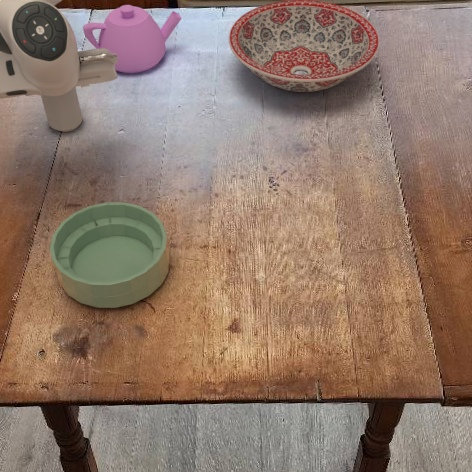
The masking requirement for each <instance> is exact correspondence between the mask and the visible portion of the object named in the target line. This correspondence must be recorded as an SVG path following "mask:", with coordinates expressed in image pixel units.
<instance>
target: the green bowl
mask: <svg viewBox="0 0 472 472" xmlns="http://www.w3.org/2000/svg"><path fill="white" fill-rule="evenodd" d="M49 251H50V256H51V262H52V264H53V267H54V270H55V274H56V277H57V280H58V283H59V285H60V286H61V288H62V289H63V290H64V292H65V293H66V294H67V296H69V297H70V298H72V299H74V300H75V301H77V302H78V303H80V304H83V305H86V306H90V307H93V308H97V309H116V308H121V307H125V306H130V305H134V304H136V303H137V302H139V301H141V300H143V299H146V298H148V297H149V296H151V295H152V294H153V293H154V292H155V291H156V290H157V289H159V287H161V286H162V285H163V283H164V282H165V280H166V277H167V275H168V274H169V270H170V261H171V258H170V251H169V241H168V234H167V232H166V228H165V225H164V223H163V222H162V221H161V220H160V219H159V217H158V216H157V215H156V214H155V213H154V212H152V211H151V210H148V209H146V208H145V207H143V206H141V205H138V204H133V203H129V202H126V201H125V202H124V201H121V202H120V201H108V202H101V203H97V204H92V205H88V206H86V207H83V208H81V209H80V210H76V211H75V212H73V213H72V214H71V215H69V216H68V217H67V218H65V219H64V220H63V221H62V222H61V223H60V224H59V225H58V227H57V228H56V229H55V231H54V232H53V234H52V236H51V241H50V245H49Z"/></svg>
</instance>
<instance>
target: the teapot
mask: <svg viewBox="0 0 472 472" xmlns="http://www.w3.org/2000/svg"><path fill="white" fill-rule="evenodd" d="M181 20H182V16H181V15H180V14H179V13H177V12H176V11H174V10H173V11H171V13H170V14H169V16H168V18H166V21H165V22H164V24H163V25H162V27H161V28H160V26H159V25H158V23H157V22H156V20H155V19H154V18H153V16H152V15H151V14H150V13H149V12H148V11H147V10H145V9H144V8H142V7H140V6H133V5H131V4H124V5H121V6H120V7H117V8H115V9H113V10H111V11H110V12H109V13H108V14H107V16H106V17H105V20H104V22H87V23H84V24H83V27H82V31H83V34H84V36H85V38H86V39H87V40H88V42H89V43H90V44H91V45H92V46H93V47H94V49H101V48H102V49H108V50H109V51H110V52H111V54H116V55H117V56H118V62H117V63H116V64H115V68H116V72H119V73H124V74H136V73H143V72H146V71H148V70H151V69H153V68H154V67H156V66H157V65H158V64H159V62H161V60H162V59H163V57H164V56H165V53H166V50H167V47H166V42H167V40H168V39H169V38H170V36H171V35H172V33H173V32H174V30H175V29H176V27H177V26H178V25H179V23H180V22H181ZM94 30H100V32H99V35H98V40H96V38H95V35H94V34H93V31H94Z"/></svg>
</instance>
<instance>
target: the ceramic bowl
mask: <svg viewBox="0 0 472 472" xmlns="http://www.w3.org/2000/svg"><path fill="white" fill-rule="evenodd" d="M228 45H229V48H230V50H231V52H232V54H233V56H234V57H235V58H236V59H237V60H238V61H239V62H240V63H241V64H242V65H244V66H246V67H247V68H248V69H249V70H250V71H251V72H252V74H254V75H255V76H256V77H258V78H259V79H260V80H261V81H263V82H265V83H267V84H268V85H270V86H273V87H275V88H278V89H281V90H284V91H288V92H294V93H295V92H297V93H311V92H319V91H325V90H327V89H330V88H333V87H335V86H338V85H339V84H342V83H343V82H345V81H347V80H348V79H349V78H350V77H352V76H353V75H355V74H356V73H357V72H359V71H361V70H363V69H365V68H366V67H367V66H368V65H369V64H371V62H373V60H374V59H375V58H376V56H377V54H378V52H379V49H380V37H379V34H378V32H377V30H376V28H375V27H374V25H373V24H372V23H371V22H370V21H369V20H368V19H367V18H365V17H364V16H363V15H361V14H360V13H357V12H356V11H354V10H352V9H350V8H347V7H345V6H342V5H339V4H335V3H331V2H327V1H319V0H280V1H275V2H274V1H273V2H270V3H266V4H264V5H260V6H257V7H255V8H252V9H250V10H248V11H247V12H245V13H244V14H243V15H241V16H240V17H239V18H237V19H236V21H235V22H234V23H233V25H232V26H231V28H230V30H229V34H228ZM298 71H304V72H307V74H299V73H297V74H296V73H295V72H298Z"/></svg>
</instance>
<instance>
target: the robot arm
mask: <svg viewBox="0 0 472 472" xmlns="http://www.w3.org/2000/svg"><path fill="white" fill-rule="evenodd" d="M62 1H63V0H0V100H3V99H9V98H14V97H21V96H25V97H31V96H41V95H46V96H60V95H63V94H65V93H67V92H69V91H70V90H71V89H72V88H73V87H80V88H84V87H85V88H86V87H90V85H96V84H101V83H107V82H112V81H115V80H116V79H117V78H118V73H117V71H116V68H115V64H116V63H117V62H118V56H117V55H116V54H111V52H110V51H109V50H108V49H102V48H101V49H96V48H93V49H86V50H81V51H79V48H78V43H77V38H76V35H75V32H74V29H73V28H72V26H71V24H70V22H69V20H68V19H67V18H66V16H65V14H64V13H62V11H61V10H60V9H59V8H58V7H56V6H57V4H59V3H61V2H62Z"/></svg>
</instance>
